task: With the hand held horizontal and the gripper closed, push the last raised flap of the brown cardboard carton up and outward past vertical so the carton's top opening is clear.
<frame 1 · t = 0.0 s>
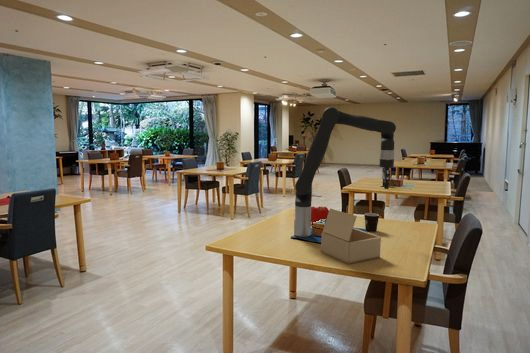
hand: (385, 187, 215), 29 cm above the table, tool pointing down, fingers open, 8 cm apart
coffee mug: (370, 230, 239), on the table
carton flap: (339, 224, 186), point 16 cm above the table, hinge at -20.0°
carton: (349, 254, 192), on the table
tomato: (318, 224, 253), on the table
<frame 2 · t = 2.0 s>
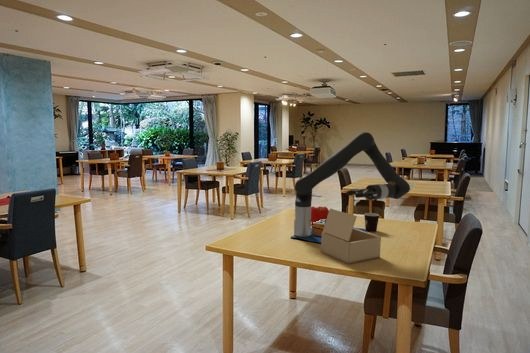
hand: (351, 194, 188), 30 cm above the table, tool horizontal, fingers open, 5 cm apart
nothing on the table moved.
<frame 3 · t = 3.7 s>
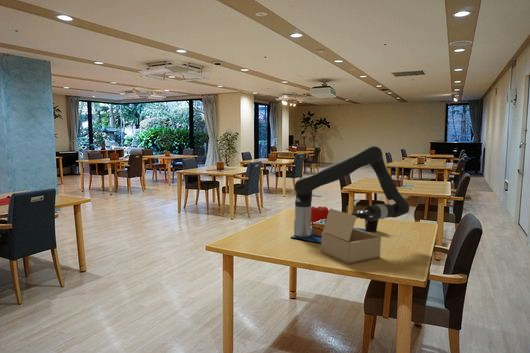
hand: (350, 216, 189), 19 cm above the table, tool horizontal, fingers closed
nothing on the table moved.
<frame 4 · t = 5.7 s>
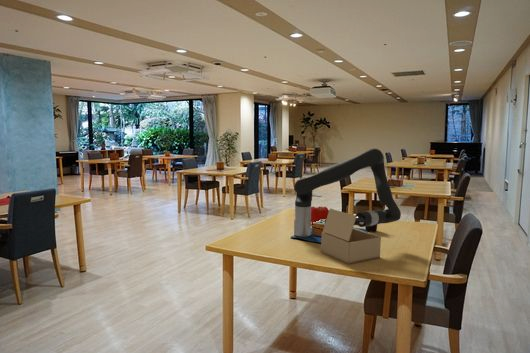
hand: (340, 222, 186), 17 cm above the table, tool horizontal, fingers closed
carton flap: (339, 224, 186), point 16 cm above the table, hinge at -19.8°, touching gripper
everything else where it was.
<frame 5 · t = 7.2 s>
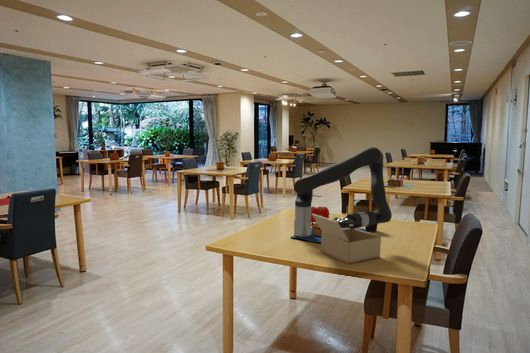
hand: (329, 224, 183), 17 cm above the table, tool horizontal, fingers closed
carton flap: (329, 227, 184), point 15 cm above the table, hinge at 36.0°, touching gripper
everything else where it was.
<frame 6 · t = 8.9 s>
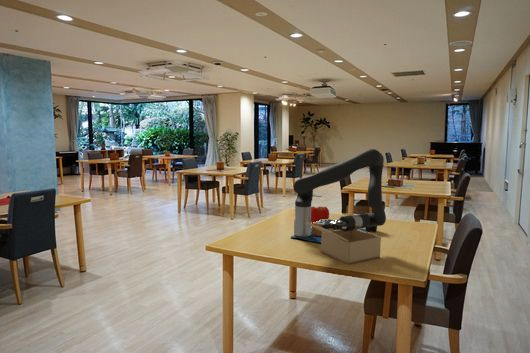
hand: (322, 226, 181), 16 cm above the table, tool horizontal, fingers closed
carton flap: (326, 231, 183), point 14 cm above the table, hinge at 61.0°, touching gripper
everything else where it was.
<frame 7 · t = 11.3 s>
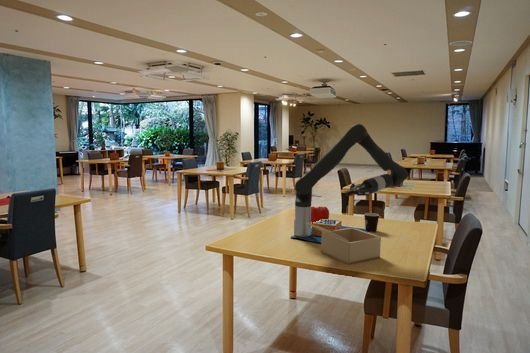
hand: (346, 194, 191), 30 cm above the table, tool horizontal, fingers closed
carton flap: (326, 231, 183), point 14 cm above the table, hinge at 61.1°
everything else where it was.
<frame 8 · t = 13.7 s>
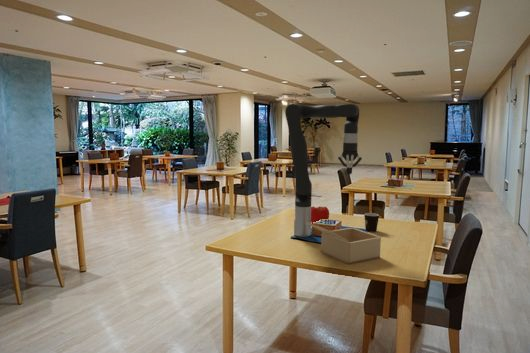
hand: (349, 174, 210), 37 cm above the table, tool pointing down, fingers closed
nothing on the table moved.
at the end: carton flap at +61° (first picture: -20°) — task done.
